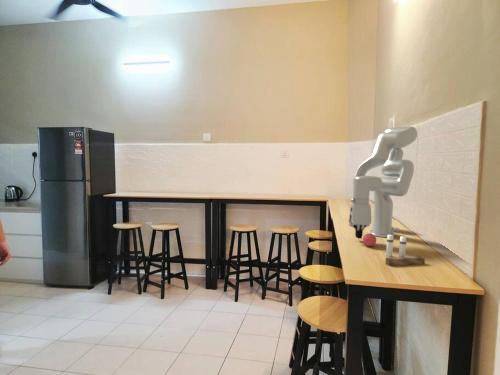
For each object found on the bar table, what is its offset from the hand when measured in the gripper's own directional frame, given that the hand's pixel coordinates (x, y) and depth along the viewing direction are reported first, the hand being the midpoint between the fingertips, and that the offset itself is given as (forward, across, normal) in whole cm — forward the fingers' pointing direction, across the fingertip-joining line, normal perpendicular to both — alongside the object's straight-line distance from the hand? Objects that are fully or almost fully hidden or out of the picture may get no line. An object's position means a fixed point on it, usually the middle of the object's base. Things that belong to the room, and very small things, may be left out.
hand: (358, 237), depth 157 cm
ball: (-1, 0, -9) cm, 9 cm away
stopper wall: (+2, 0, -34) cm, 34 cm away
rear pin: (+2, +4, -28) cm, 28 cm away
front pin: (+2, 0, -24) cm, 24 cm away
